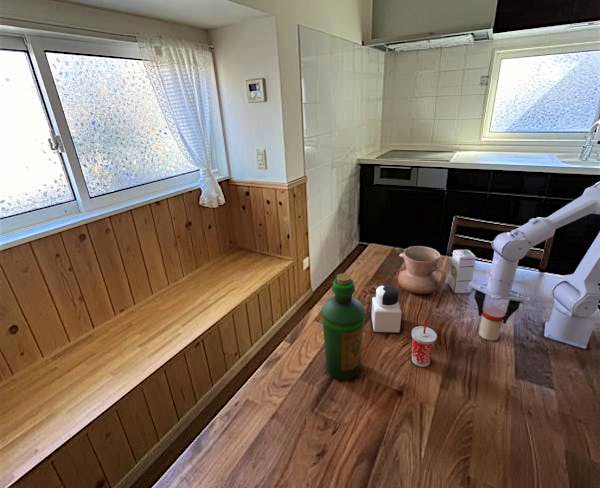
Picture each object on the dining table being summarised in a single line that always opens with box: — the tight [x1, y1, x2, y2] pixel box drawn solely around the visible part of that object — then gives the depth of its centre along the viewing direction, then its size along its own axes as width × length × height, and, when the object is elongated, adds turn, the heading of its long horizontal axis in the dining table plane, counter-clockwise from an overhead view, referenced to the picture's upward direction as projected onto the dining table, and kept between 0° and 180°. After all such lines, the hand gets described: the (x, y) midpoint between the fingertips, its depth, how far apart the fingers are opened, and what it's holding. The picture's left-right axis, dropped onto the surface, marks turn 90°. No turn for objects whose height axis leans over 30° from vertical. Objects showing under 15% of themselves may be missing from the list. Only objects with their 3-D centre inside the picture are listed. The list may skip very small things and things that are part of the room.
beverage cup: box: [411, 316, 438, 368], centre depth 87 cm, size 6×6×14 cm
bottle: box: [321, 273, 366, 381], centre depth 83 cm, size 11×11×28 cm
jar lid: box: [481, 304, 506, 322], centre depth 95 cm, size 6×6×2 cm
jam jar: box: [478, 315, 503, 342], centre depth 97 cm, size 5×5×8 cm
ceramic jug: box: [397, 245, 447, 295], centre depth 119 cm, size 18×14×14 cm
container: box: [371, 284, 403, 334], centre depth 102 cm, size 8×8×13 cm
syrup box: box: [448, 249, 477, 294], centre depth 118 cm, size 6×6×14 cm
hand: (492, 317), depth 96 cm, fingers closed on jar lid, 5 cm apart
